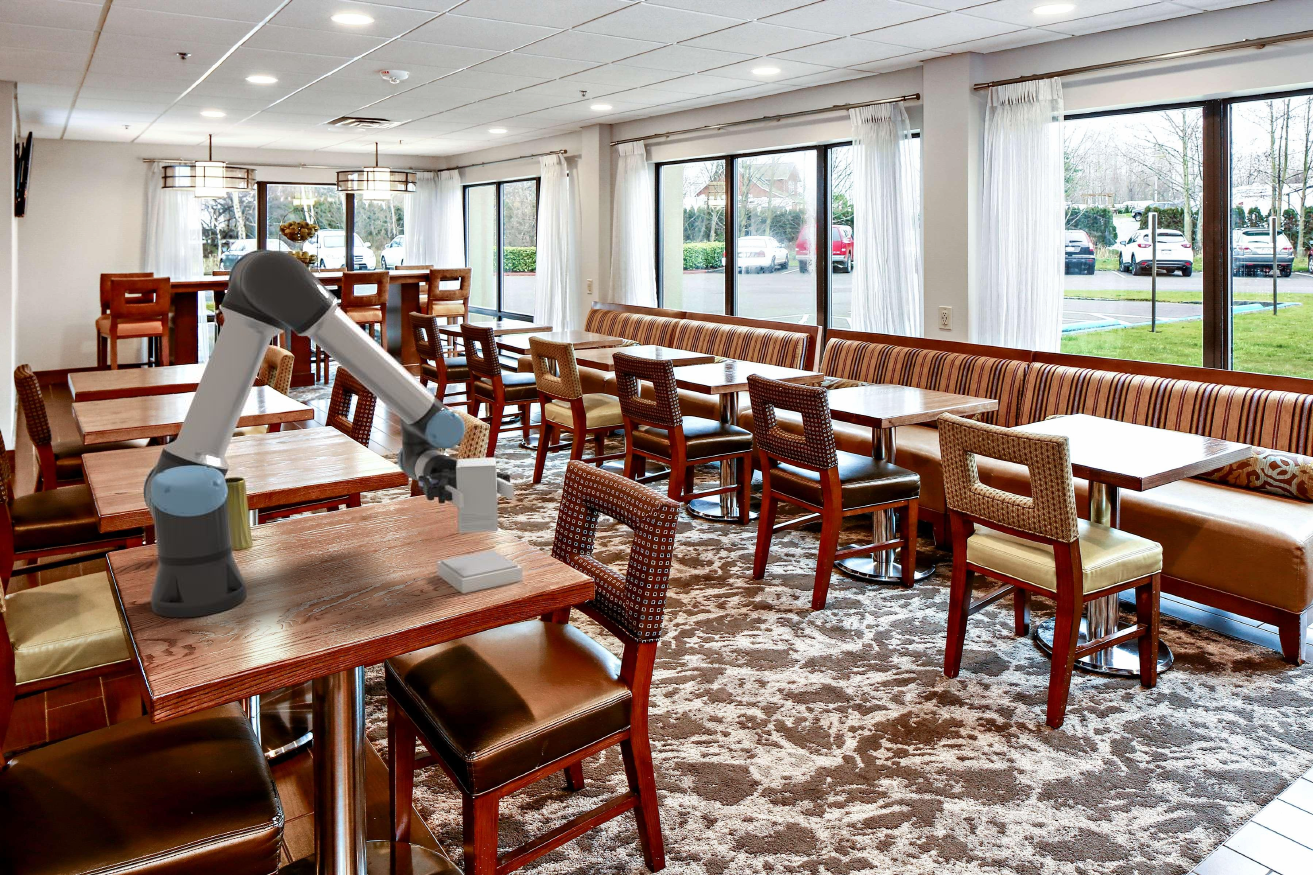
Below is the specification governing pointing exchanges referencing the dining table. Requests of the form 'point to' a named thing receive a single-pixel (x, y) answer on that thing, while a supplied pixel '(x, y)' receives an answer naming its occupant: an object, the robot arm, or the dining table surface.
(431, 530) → the dining table surface
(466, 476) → the supplement box
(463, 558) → the pedestal
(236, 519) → the vase
